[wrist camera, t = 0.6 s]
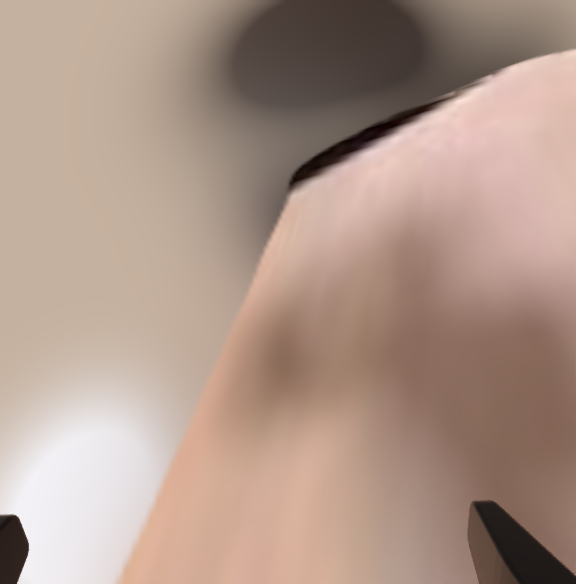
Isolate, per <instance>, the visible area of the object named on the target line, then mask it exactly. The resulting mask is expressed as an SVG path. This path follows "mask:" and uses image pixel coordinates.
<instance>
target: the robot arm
mask: <svg viewBox="0 0 576 584" xmlns="http://www.w3.org/2000/svg"><path fill="white" fill-rule="evenodd" d="M468 542H469V547H470V550H471V554H472V558H473V562H474V565H475V569H476V573H477V577H478V580H479V584H576V576H575V575H574V574H573V573H572V572H571V571H570V570H569V569H568V568H567V567H566V566H565V565H564V564H562V563H561V562H560V561H559V560H558V559H557V558H556V557H555V556H554V555H553V554H552V553H550V552H549V551H548V550H547V549H546V548H545V547H544V546H543V545H542V544H541V543H540V542H538V541H537V540H536V539H535V538H534V537H533V536H532V535H531V534H530V533H529V532H528V531H526V530H525V529H524V528H523V527H522V526H521V525H520V524H519V523H518V522H517V521H516V520H515V519H513V518H512V517H511V516H510V515H509V514H508V513H507V512H506V511H505V510H504V509H503V508H501V507H500V506H499V505H498V504H497V503H496V502H494V501H491V500H484V501H473V502H472V503H471V505H470V511H469V522H468ZM28 551H29V543H28V540H27V537H26V535H25V532H24V530H23V527H22V524H21V522H20V519H19V518H18V517H17V516H16V515H13V514H12V515H0V584H17V582H18V579H19V577H20V574H21V572H22V569H23V567H24V564H25V561H26V558H27V556H28Z"/></svg>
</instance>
